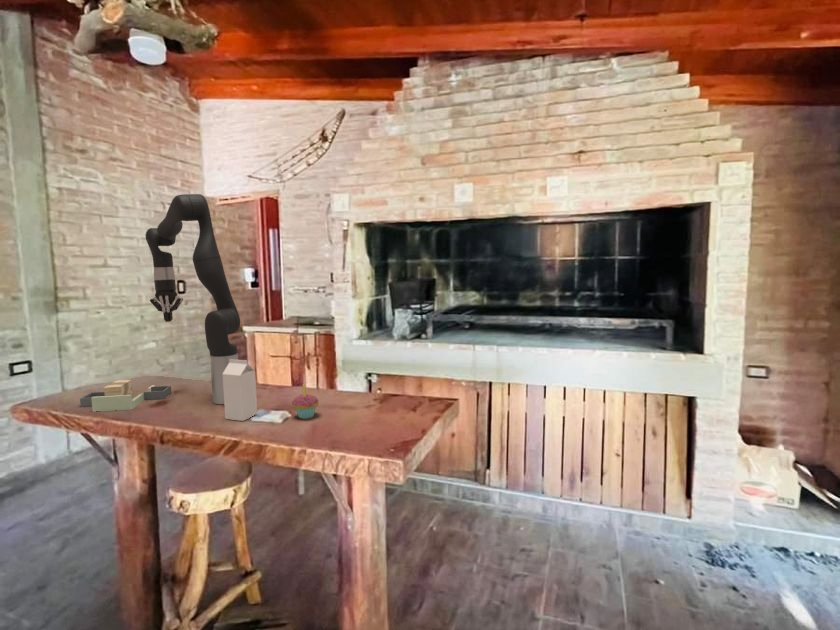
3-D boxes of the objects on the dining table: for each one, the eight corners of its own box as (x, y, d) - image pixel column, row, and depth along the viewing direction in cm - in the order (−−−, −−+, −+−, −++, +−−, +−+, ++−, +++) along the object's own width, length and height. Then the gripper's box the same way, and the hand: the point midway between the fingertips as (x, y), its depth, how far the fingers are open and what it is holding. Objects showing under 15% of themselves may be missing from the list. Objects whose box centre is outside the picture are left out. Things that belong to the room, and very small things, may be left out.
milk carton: (243, 421, 158) (239, 362, 156) (225, 419, 161) (221, 361, 158) (257, 414, 165) (254, 358, 162) (240, 412, 167) (236, 357, 165)
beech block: (118, 401, 182) (116, 380, 181) (133, 400, 183) (131, 379, 182) (106, 410, 172) (104, 387, 171) (121, 409, 173) (119, 386, 172)
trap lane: (101, 394, 192) (100, 381, 191) (174, 390, 196) (174, 378, 195) (70, 413, 169) (68, 398, 168) (153, 408, 173) (152, 394, 172)
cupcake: (318, 419, 159) (317, 383, 157) (291, 421, 158) (289, 384, 156) (319, 411, 167) (318, 376, 166) (293, 413, 166) (291, 377, 164)
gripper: (143, 279, 196) (147, 323, 198) (176, 278, 196) (180, 322, 198) (153, 278, 204) (157, 320, 206) (185, 277, 203) (189, 319, 205)
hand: (168, 321), depth 202 cm, fingers closed
